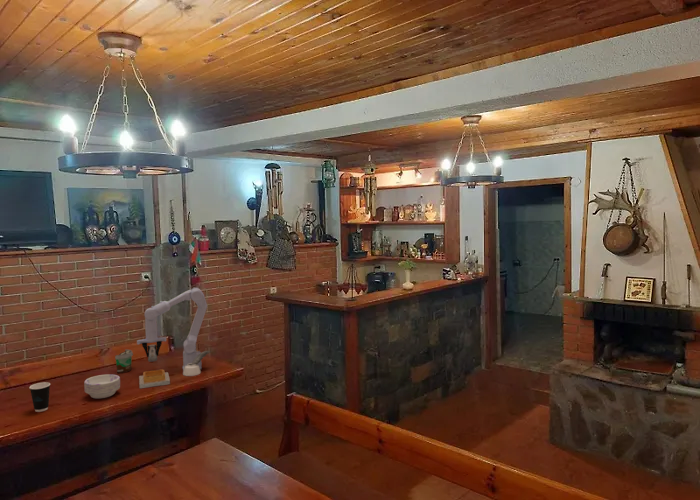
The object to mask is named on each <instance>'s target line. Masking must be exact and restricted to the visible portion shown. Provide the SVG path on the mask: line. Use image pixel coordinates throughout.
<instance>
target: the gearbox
mask: <svg viewBox="0 0 700 500" xmlns="http://www.w3.org/2000/svg"><path fill="white" fill-rule="evenodd" d="M138 379H139V381H138V383H139V385H138V386H139V389H146V388H152V387H153V388H154V387H161V386H167V385H171V379H170V376H169V372H167V371H166V372H165V369H155V370H154V369H153V370H148V371H143V373H142V375H139V376H138Z"/></svg>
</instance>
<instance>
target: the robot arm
mask: <svg viewBox="0 0 700 500" xmlns="http://www.w3.org/2000/svg"><path fill="white" fill-rule="evenodd" d="M191 300H192V301H193V303H195V304H196V306H197V308H196V310H195V311H196V312H195V315H194V317H193V321H192V323H191V326H190V329H189V332H188V335H187V337H186V339H185V340H184V341H183V342H182V343H183V344H182V346H183V351H182V362H183V363H182V364H183V365H182V366H181V367H182V372H183V371H184V367H185V366H186V365H187V364H189V363H192V362H193V360H194V359H195V358H196V357H197V356H198V355H199V354H200V353H202V352H201V351H198V350H197V341H198V340H197V339H198V336H199V333H200V329H201V327H202V323H203V321H204V317H205V314H206V312H207V309H208V304H207V300H206V297H205V294H204V292H203V291H202V290H201V289H200V288H199V287H193V288H191V289H188V290H186V291H184V292H182V293H181V294H178V295H176V296H175V297H173V298H171V299H169V300H168V301H166V300H163V301H162V300H160V301H159V303H157V304H155V305H151V307H148V308H147V309H145V311H144V318H145V319H144V321H145V322H144V323H145V325H144V326H145V327H144V329H145V338H142V339H138V340H137V339H136V345H141V346H142V348H143V350H144V352H145V355H146V358H148V344H150V343H151V344H152V343H153V344H154V343H156V346H157V357H158V356H159V353H160V349H161V346H162V343H163V342H167V336H163V337H158V324H157V317H158V316H160V315H163V314H165V313H166V312H169V311H170V310H171V307H173V306H175V305H177V304H179V303H181V302H183V301H191ZM197 365H199V368H200V370H202V369H203V368H202V360H201V361H200V362H199V363H198V364H197Z"/></svg>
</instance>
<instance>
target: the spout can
mask: <svg viewBox="0 0 700 500" xmlns="http://www.w3.org/2000/svg"><path fill="white" fill-rule="evenodd" d="M147 351H148V357H147V362H151V363H153V362H157V361H158V356H157V344H149V345H147Z"/></svg>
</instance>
